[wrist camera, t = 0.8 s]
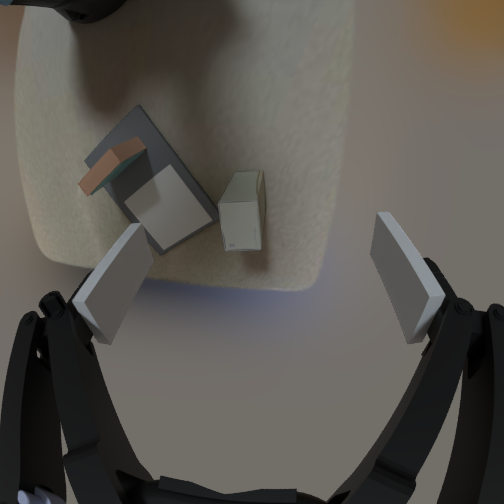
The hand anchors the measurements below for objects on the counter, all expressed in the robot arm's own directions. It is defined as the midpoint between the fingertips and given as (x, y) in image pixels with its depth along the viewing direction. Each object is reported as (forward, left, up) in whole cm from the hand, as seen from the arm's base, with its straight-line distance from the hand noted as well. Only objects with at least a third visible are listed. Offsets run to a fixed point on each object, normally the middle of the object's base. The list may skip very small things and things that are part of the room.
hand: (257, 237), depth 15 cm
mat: (-5, -19, -25) cm, 32 cm away
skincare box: (+4, -6, -26) cm, 27 cm away
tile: (-11, -19, -25) cm, 33 cm away
